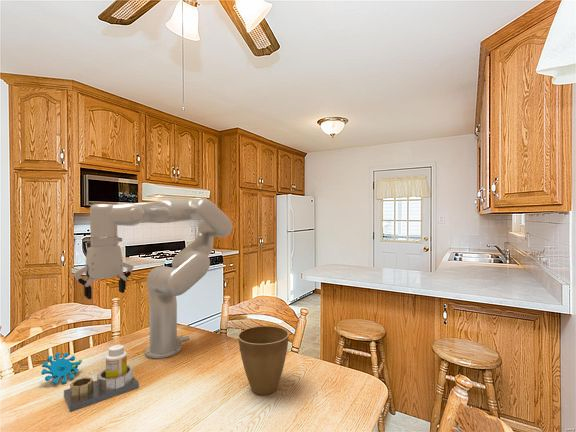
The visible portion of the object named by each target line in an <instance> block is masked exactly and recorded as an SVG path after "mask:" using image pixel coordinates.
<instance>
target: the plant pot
mask: <svg viewBox="0 0 576 432" xmlns="http://www.w3.org/2000/svg"><path fill="white" fill-rule="evenodd" d="M289 337H290V333H289V331H288V330H287V329H285V328H283V327H279V326H275V325H259V326H251V327H249V328H248V327H247V328H246V329H243V330H241V331H240V332H239V333H238V334H237V340H238V346H239V351H240V355H241V361H242V365H243V369H244V372H245V375H246V378H247V381H248V384H249V386H250V389H251V390H252V392H253V393H255V394H256V395H259V396H266V395H271V394H272V393H275V392H276V391H277V389H278V386H279V383H280V380H281V376H282V373H283V370H284V368H285V367H284V366H285V363H286V357H287V352H288V344H289Z"/></svg>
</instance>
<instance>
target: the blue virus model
mask: <svg viewBox="0 0 576 432" xmlns="http://www.w3.org/2000/svg"><path fill="white" fill-rule="evenodd" d="M61 355H62V353H61V352H56V353H55V354H54V355H50V356H48V357H47V358H46V360H47V361H44V362H43V363H42V365H41V368H42V370H41V372H40V373H41V375H43V376H44V375H46V376H45V377H44V380H45V382H48V381H50V380H51V379H52V382H51V383H52V384H53V385H57V384H58V382H59V379H61V378H62V380H61V382H60V384H62V385H63V384H66V383H67V382H68V380H69V381H71V380H73V379H75V375H76V374H77V373H78V372H79V371H80V368H78V367H79V366H80V365H81V364H82V363H83V360H82V359H79V360H78V361H75V360H76V356H75V355H72V356H71V357H69V355H70V353H69V352H64V353H63V356H62V357H61V358H60V356H61ZM68 357H69V358H68ZM53 358H55V360H53ZM73 361H75V362H73ZM49 363H50V364H49ZM47 369H48V370H47ZM47 374H48V375H47ZM67 376H69V377H68V379H67Z"/></svg>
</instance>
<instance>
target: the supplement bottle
mask: <svg viewBox="0 0 576 432" xmlns="http://www.w3.org/2000/svg"><path fill="white" fill-rule="evenodd" d="M127 357H128V353H127V352H126V351H125V345H123V344H115V345H111V346H110V347H108V354H107V355H105V369H106V379H110V378H117V377H120V376H123V375H125V374H126V373H127V365H128V358H127Z"/></svg>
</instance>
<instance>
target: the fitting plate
mask: <svg viewBox="0 0 576 432" xmlns="http://www.w3.org/2000/svg"><path fill="white" fill-rule="evenodd" d="M139 388H140V382H139V381H138V380H137V378H136V377H135V376H134V368H133V366H132V365H129V364H127V373H126V374H125V375H123V376H120V377H117V378H110V379H106V368H104V369H103V370H101V371H99V372H98V374H97V376H96V380H94V378H93V377H90V376H89V377H88V376H87V377H81V378H77V379H74V380H73V381H72V382H71V383H70V384H69V388H67V389H64V390H63V397H64V401H65V403H66V405H67V408H68V411H69V412H70V413H71V412H73V411H74V412H75V411H76V410H79V409H82V408H86V407H88V406H91V405H93V404H96V403H99V402H103V401H104V400H108V399H110V398H113V397H116V396H119V395H121V394H125V393H127V392H131V391H133V390H137V389H139Z"/></svg>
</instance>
